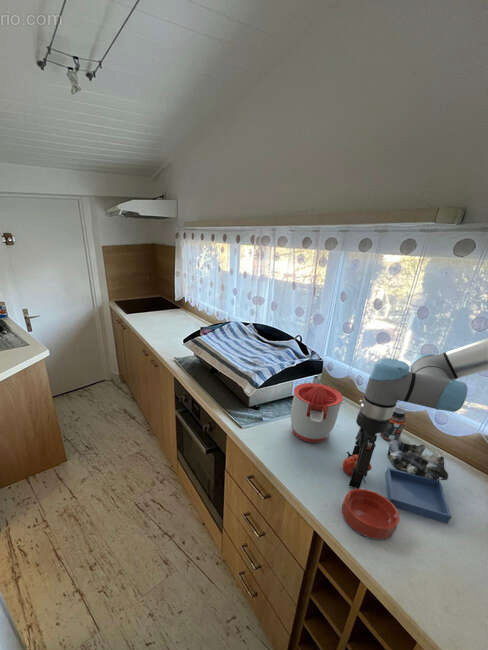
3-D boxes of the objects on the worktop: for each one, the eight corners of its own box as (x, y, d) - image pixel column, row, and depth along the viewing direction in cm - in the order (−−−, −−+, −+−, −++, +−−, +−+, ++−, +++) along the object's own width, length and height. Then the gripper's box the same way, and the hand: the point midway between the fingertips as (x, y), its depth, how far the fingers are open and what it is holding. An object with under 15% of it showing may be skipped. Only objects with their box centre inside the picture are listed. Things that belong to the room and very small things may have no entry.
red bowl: (391, 509, 82) (397, 498, 80) (396, 548, 72) (402, 536, 70) (342, 494, 87) (345, 483, 85) (340, 528, 77) (344, 516, 75)
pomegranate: (368, 481, 94) (352, 450, 98) (384, 478, 87) (366, 445, 91) (348, 488, 93) (332, 456, 96) (362, 486, 86) (345, 452, 90)
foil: (428, 446, 100) (453, 450, 86) (422, 478, 99) (447, 488, 85) (387, 437, 103) (406, 439, 89) (382, 468, 103) (399, 476, 88)
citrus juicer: (285, 445, 106) (294, 395, 97) (287, 418, 121) (295, 372, 111) (334, 454, 102) (348, 403, 92) (330, 425, 116) (342, 378, 107)
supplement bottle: (395, 444, 106) (406, 417, 101) (377, 436, 110) (386, 410, 105) (401, 437, 110) (411, 410, 104) (382, 429, 113) (392, 403, 108)
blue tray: (437, 488, 89) (440, 481, 87) (447, 523, 78) (451, 516, 77) (384, 473, 94) (387, 467, 93) (388, 505, 83) (391, 498, 82)
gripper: (359, 392, 93) (342, 448, 104) (359, 433, 75) (339, 496, 86) (387, 397, 90) (366, 455, 101) (394, 442, 72) (369, 506, 83)
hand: (354, 474), depth 93 cm, fingers open, 10 cm apart
